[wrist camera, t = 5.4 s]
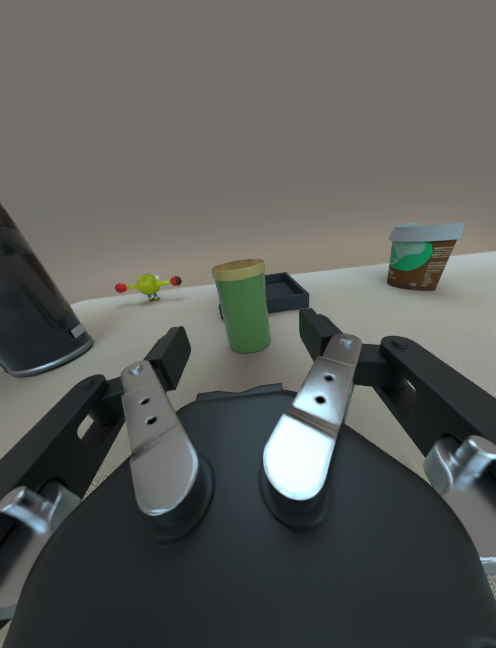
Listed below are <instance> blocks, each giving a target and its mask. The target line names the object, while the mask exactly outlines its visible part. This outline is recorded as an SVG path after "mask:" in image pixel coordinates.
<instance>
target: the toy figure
mask: <svg viewBox="0 0 496 648" xmlns="http://www.w3.org/2000/svg"><path fill="white" fill-rule="evenodd" d="M159 279H160V278H159V276H155V277H154V276H152V275H149V274H145V275H142V276H140V277H139V278H138V280H137V284H136V285H130V286H126V285H125V284H120V283H119V284H117V285H116V286H115V289H116V291H117V292H119V293H122V292H125V291H126V290H127V288H130V289H134V288H137V289H138V290H139V291H140V292H141V293H143V294H146V295H148V297H149V300H150V301H151V300H153V299H154V298H152V297H151V295H153V294H154V296H155V300H158V299H159V297H158V296H157V294H156V293H157V292H158V290H159V288H160V285H167V283H171V284H172V285H174V286H178V285H180V284H181V282H182V281H181V278H180V277H178V276H175V277H173V278H171V280H170V281H158V280H159Z"/></svg>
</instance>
